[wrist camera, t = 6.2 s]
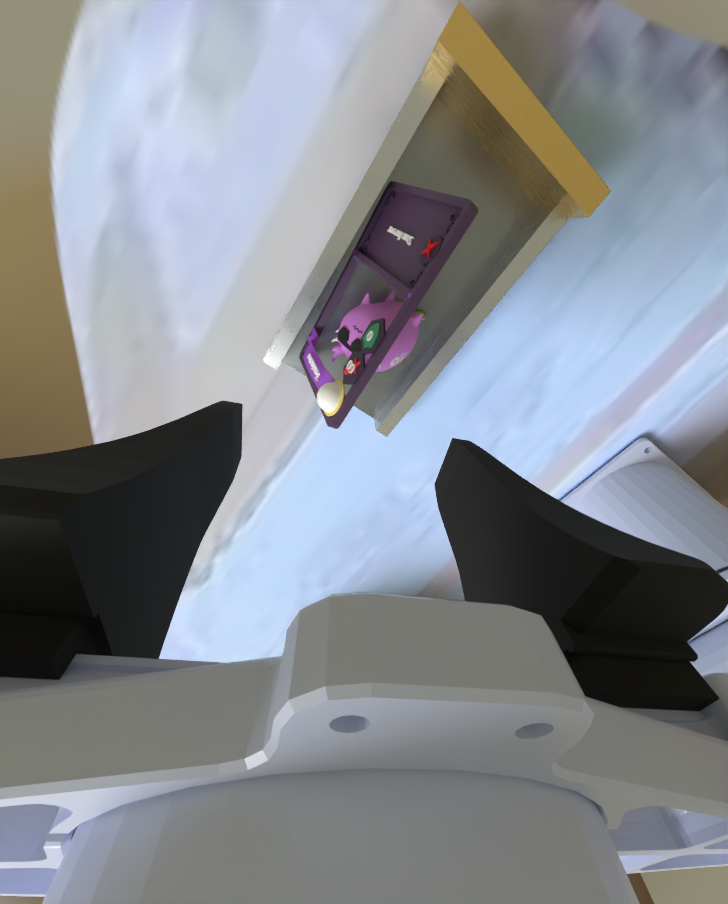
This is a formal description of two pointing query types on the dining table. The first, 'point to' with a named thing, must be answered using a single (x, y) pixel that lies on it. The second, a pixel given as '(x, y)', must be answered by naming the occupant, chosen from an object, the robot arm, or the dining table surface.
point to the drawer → (459, 174)
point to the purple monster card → (407, 271)
